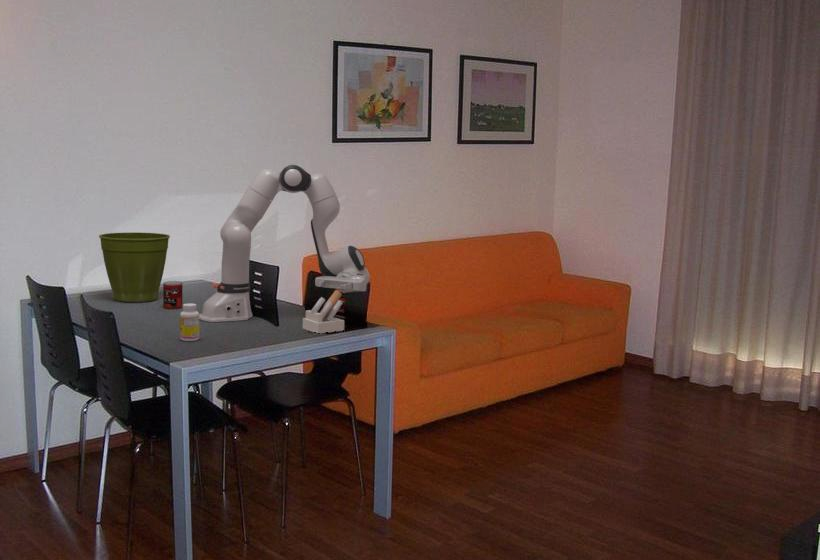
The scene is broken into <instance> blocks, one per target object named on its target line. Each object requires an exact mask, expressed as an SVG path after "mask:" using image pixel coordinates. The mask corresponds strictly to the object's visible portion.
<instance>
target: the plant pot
mask: <svg viewBox="0 0 820 560" xmlns="http://www.w3.org/2000/svg"><path fill="white" fill-rule="evenodd" d="M98 238H100V247H101V251H102V257H103V262H104V266H105V269H106V270H105V271H106V275H107V278H108V281H109V285H110V287H111V292H112V299H113V300H114V301H117V302H125V303H143V302H144V303H145V302H151V301H155V300H157V299H158V298H159V289H160V286H161V283H162V279H163V275H164V271H165V266H166V261H167V254H168V253H167V252H168V249H169V240H170V238H171V235H169V234H165V233H157V232H135V231H134V232H109V233H102V234H99V235H98Z"/></svg>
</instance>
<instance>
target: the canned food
mask: <svg viewBox="0 0 820 560" xmlns="http://www.w3.org/2000/svg"><path fill="white" fill-rule="evenodd" d="M162 289H163V290H162V291H163V292H162V293H163V295H162V296H163V297H162V298H163V299H162V300H163V302H162V303H163V308H164V309H165V310H180V309H183V282H182V281H178V280H168V281H163V283H162Z"/></svg>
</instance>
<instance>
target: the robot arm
mask: <svg viewBox="0 0 820 560" xmlns="http://www.w3.org/2000/svg"><path fill="white" fill-rule="evenodd" d="M280 191H283V192H287V193H290V194H297V193H301V192H302V193H304V194H305V196H307V198H308V201H309V203H310V205H311V207H312V208H311V209H312V218H311V220H310V229H311V233H312V238H313V242H314V246H315V251H316V255H317V260H318V262H317V263H318V268H319V271H320V274H321V275H322V276H317V277H315V280H314V283H315V284H314V285H315V286H316V288H317V287H318V288H326V289H327V288H328V289H338V291H339V292H340V293H341V292H342V293H344V294H345V293H353V292H360V293H361V292H366V291H367V285H368V283H369V281H370V278H371V275H370V272H369V270H368V269H367V268H366V267H365V266H366V265H365V264H366V263H365V259H364V256H363V254H362V251H360V250H359V249H358V248H357V247H355V246H353V245H349V246H346V247H342V248H340V249H338V250H336V251H333V252H330V251H329V246H328V241H327V238H326V231H327V229H328V227H329V225H330V224H332V223H333V221H334V220H335V219H337V217H338V215H339V213H340V211H341V210H340V209H341V206H340V201H339V198H338V196H337V194H336V192H335V189H334V187H333V185H332V184H331V181H329V179H328V177H327V176H326V175H325V174H323V173H315V174H310V173H309V172H307V171H306V170H305V169H304V168H302V167H301V166H299V165H296V164H290V165H287V166H285V167H284V168H283V169H282V170H281V171H275V170H274V169H271V168H263V169H262V170H260V171H259V173H257V174H256V176H255V177H254V179H252V181H251V182H250V184H249V185H248V187H247V189H246V190H245V192H244V194H243V195H242V197H241V199H240V201H239V203H237V205H236V207H235V208H234V209H233V210H232V212H231V214H229V216H228V218H227V219H226V221H225V222H224V224H222V227H221V229H220V231H219V233H220V234H219V235H220V239H221V240H222V257H221V281H220V283H217V282H214V283H213V284H212V288H213V289H217V290H216V292H215V293H214V294H212V296H210V297H209V298H207V300H205V301H204V303H203V305H202V312H201V313H199V321H200V320H201V321H204V322H209V323H210V322H211V323H217V322H218V323H219V322H233V321H235V322H237V321H248V320H249V319H250V318H252V317H253V312H252V308H251V301H250V293H251V283H250V259H251V249H252V248H251V247H252V232H253V230H254V229H255V227H256V226H257V225H258V224H259V222H260V221H261V220H262V219H263V217H264V216H265V214H266V212H267V211H268V209H269V208H270V206H271V204H272V203H273V200H274V199H275V198H276V196H277V194H278V193H279V192H280Z"/></svg>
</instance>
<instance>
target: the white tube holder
mask: <svg viewBox="0 0 820 560" xmlns="http://www.w3.org/2000/svg"><path fill="white" fill-rule="evenodd" d="M328 300H329V298H328V299H327V301H328ZM327 301H326V299H325V298H324V297H322V296H321V297H320V298H319V299H318V300H317V302H316V303H315V304H314V306H313V307H312V309H308V310H305V317H303V318H302V329H303V330H306V331H309V332H312V333H314V332H316V333H315V334H317V333H320V334H326V332H328V333H333V332H335V331H336V332H343V330H344V331H345V320H344V319H341V318H338V317H335V315H336V314H337V312H338V311H339V309H340V308H341V306H342V305H343V301H341V300H340V299H339V300H338V301H337V303H336V304H335V306H334V307H333V308H332V310H331V311H330V313H329V314H328V316H327V317H326V318H324V316H325V315H326V313H327V312H328V310H329V309H330V307H331V306H332V305H333V303H331V302H330V301H328V303H327ZM326 303H327V304H326ZM325 304H326V306H325ZM322 305H323V307H324V306H325V307H324V308H323V307H322ZM322 308H323V310H322ZM320 309H321V310H322V311H321V310H320ZM320 311H321V313H320Z"/></svg>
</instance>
